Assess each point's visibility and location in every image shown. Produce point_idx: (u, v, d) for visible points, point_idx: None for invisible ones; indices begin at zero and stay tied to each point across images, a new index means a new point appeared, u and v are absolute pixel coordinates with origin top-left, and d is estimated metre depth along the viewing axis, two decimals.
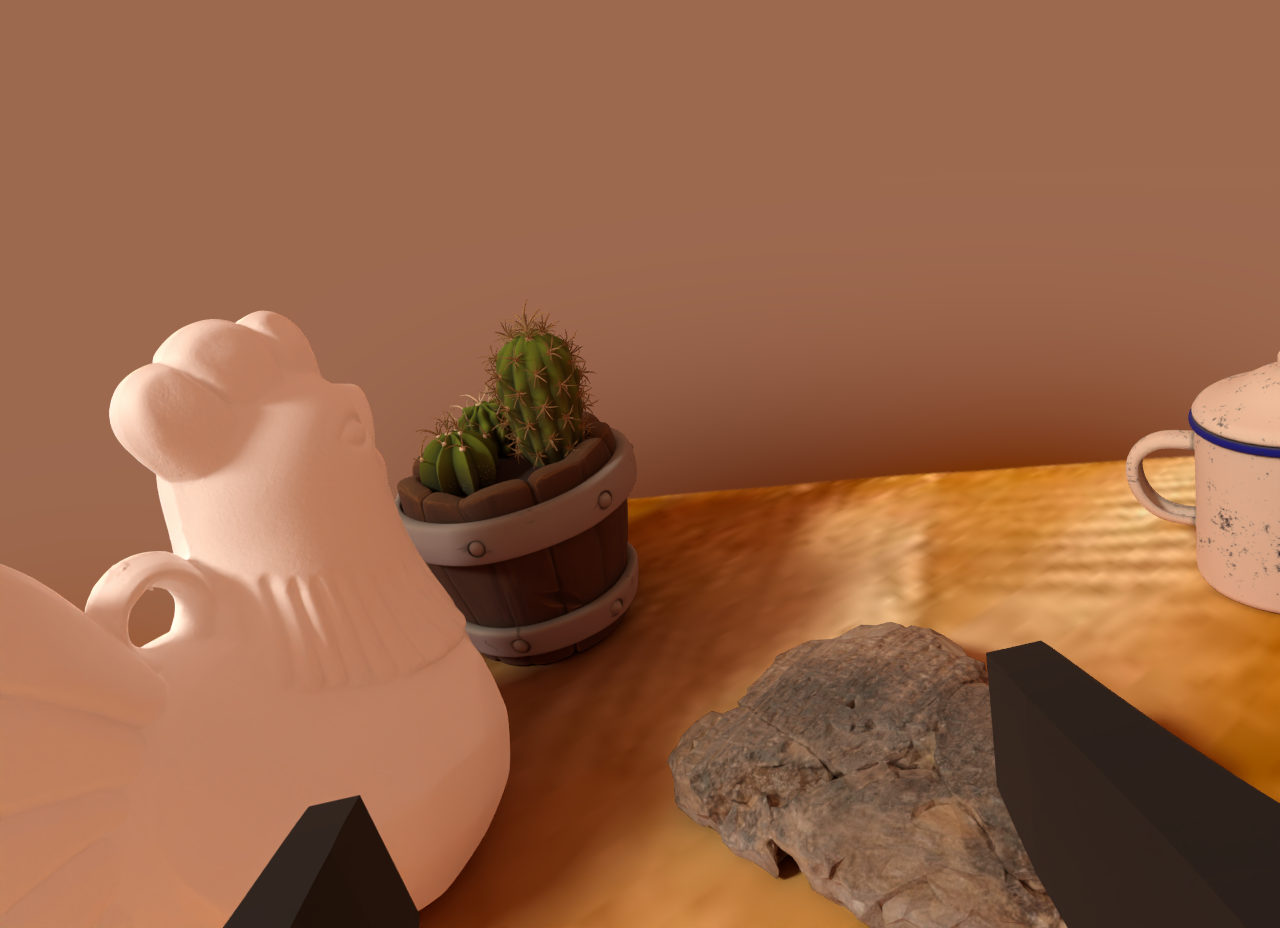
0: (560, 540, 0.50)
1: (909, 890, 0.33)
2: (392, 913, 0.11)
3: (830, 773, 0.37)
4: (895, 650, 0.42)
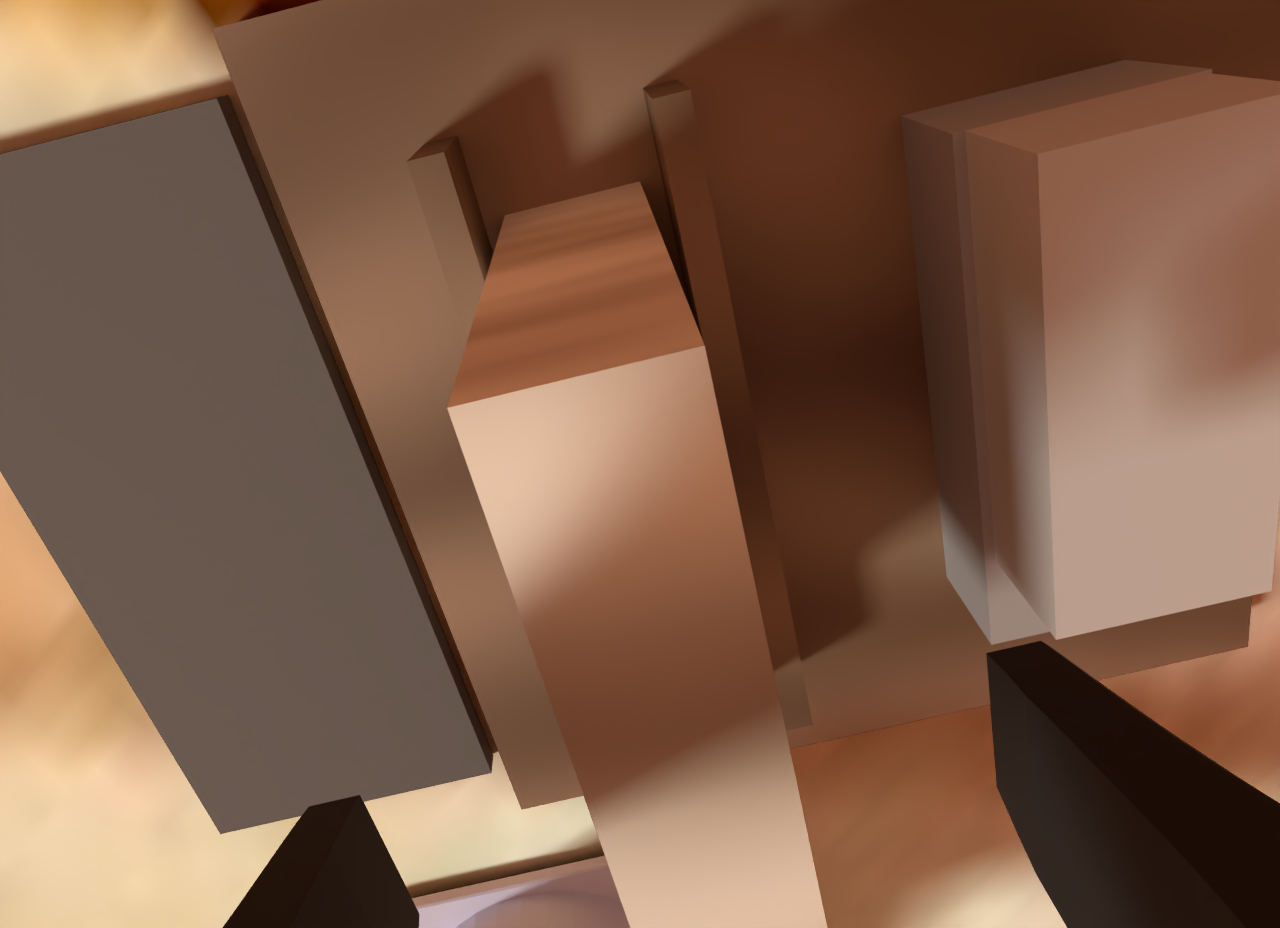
0: None
1: None
2: (391, 913, 0.10)
3: None
4: None
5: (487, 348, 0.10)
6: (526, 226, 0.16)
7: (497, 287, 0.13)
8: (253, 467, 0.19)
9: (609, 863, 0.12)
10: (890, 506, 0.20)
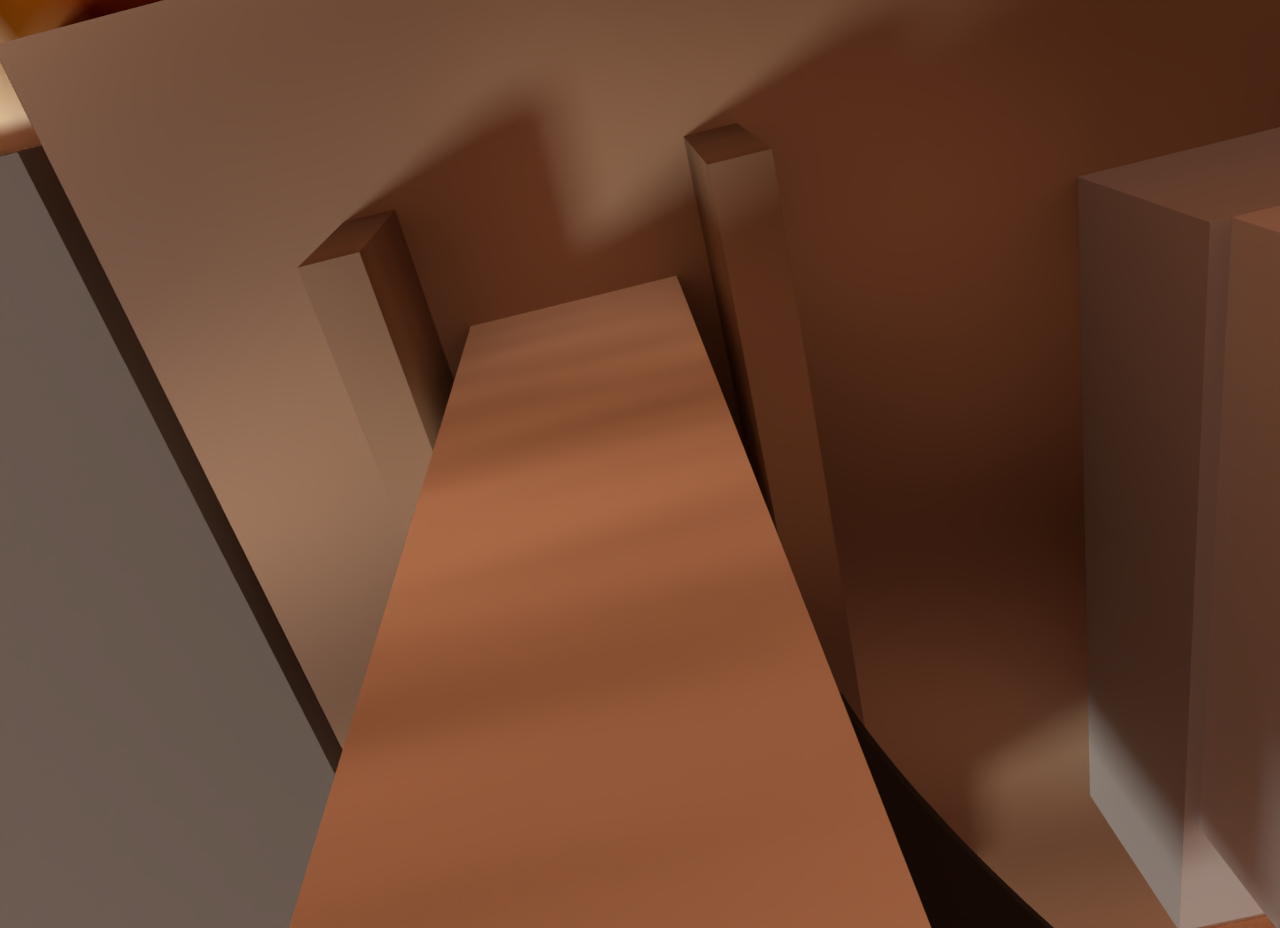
0: None
1: None
2: None
3: None
4: None
5: (378, 804, 0.04)
6: (500, 359, 0.10)
7: (433, 536, 0.07)
8: (116, 669, 0.13)
9: None
10: (1020, 709, 0.14)
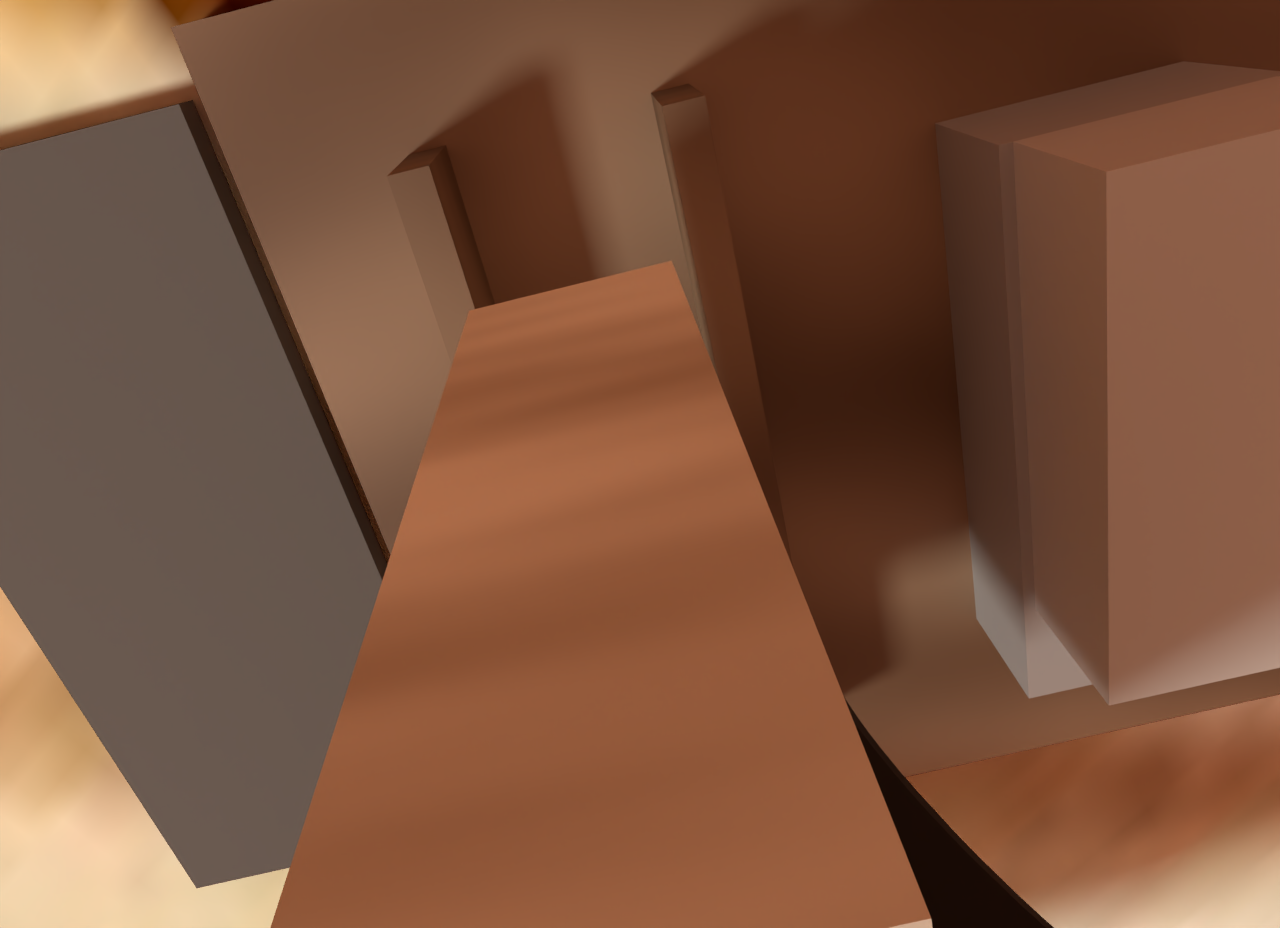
0: None
1: None
2: None
3: None
4: None
5: (379, 745, 0.05)
6: (498, 341, 0.10)
7: (433, 504, 0.07)
8: (226, 504, 0.18)
9: None
10: (917, 544, 0.19)
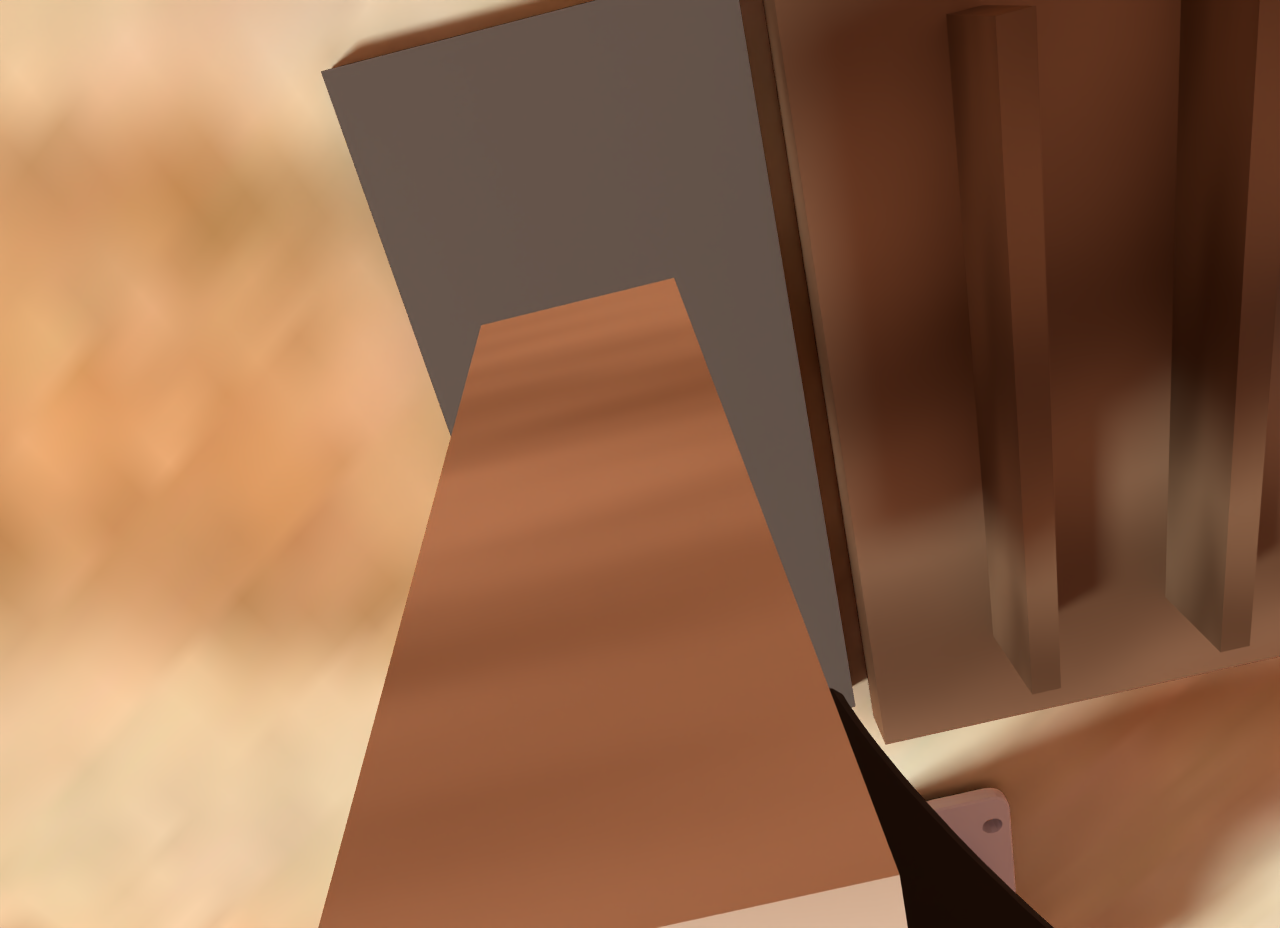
0: None
1: None
2: None
3: None
4: None
5: (415, 733, 0.05)
6: (510, 356, 0.11)
7: (454, 513, 0.07)
8: None
9: None
10: None
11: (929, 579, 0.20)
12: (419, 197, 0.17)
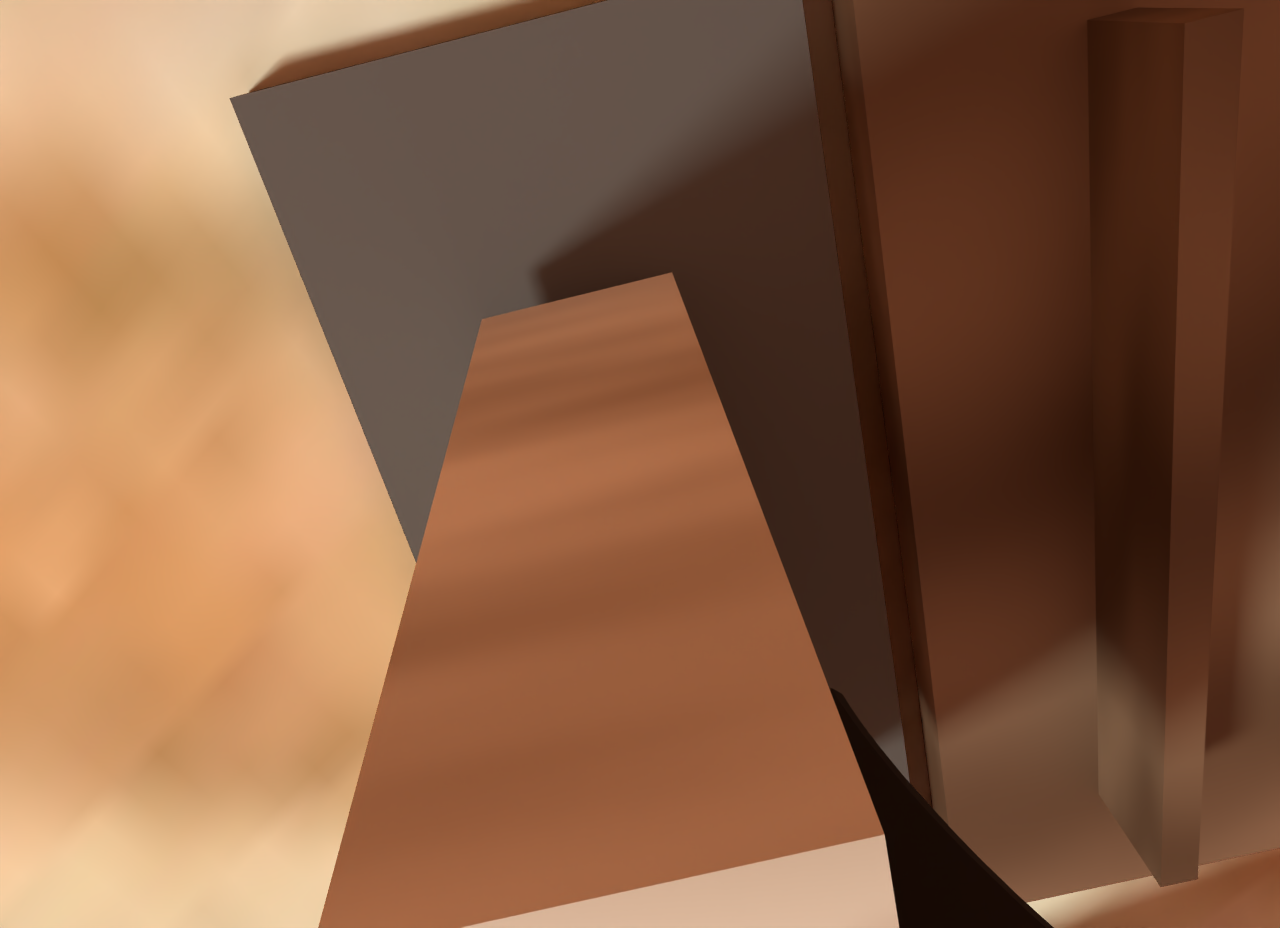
0: None
1: None
2: None
3: None
4: None
5: (421, 708, 0.05)
6: (510, 349, 0.11)
7: (457, 500, 0.08)
8: None
9: None
10: None
11: (1023, 730, 0.16)
12: (368, 264, 0.12)
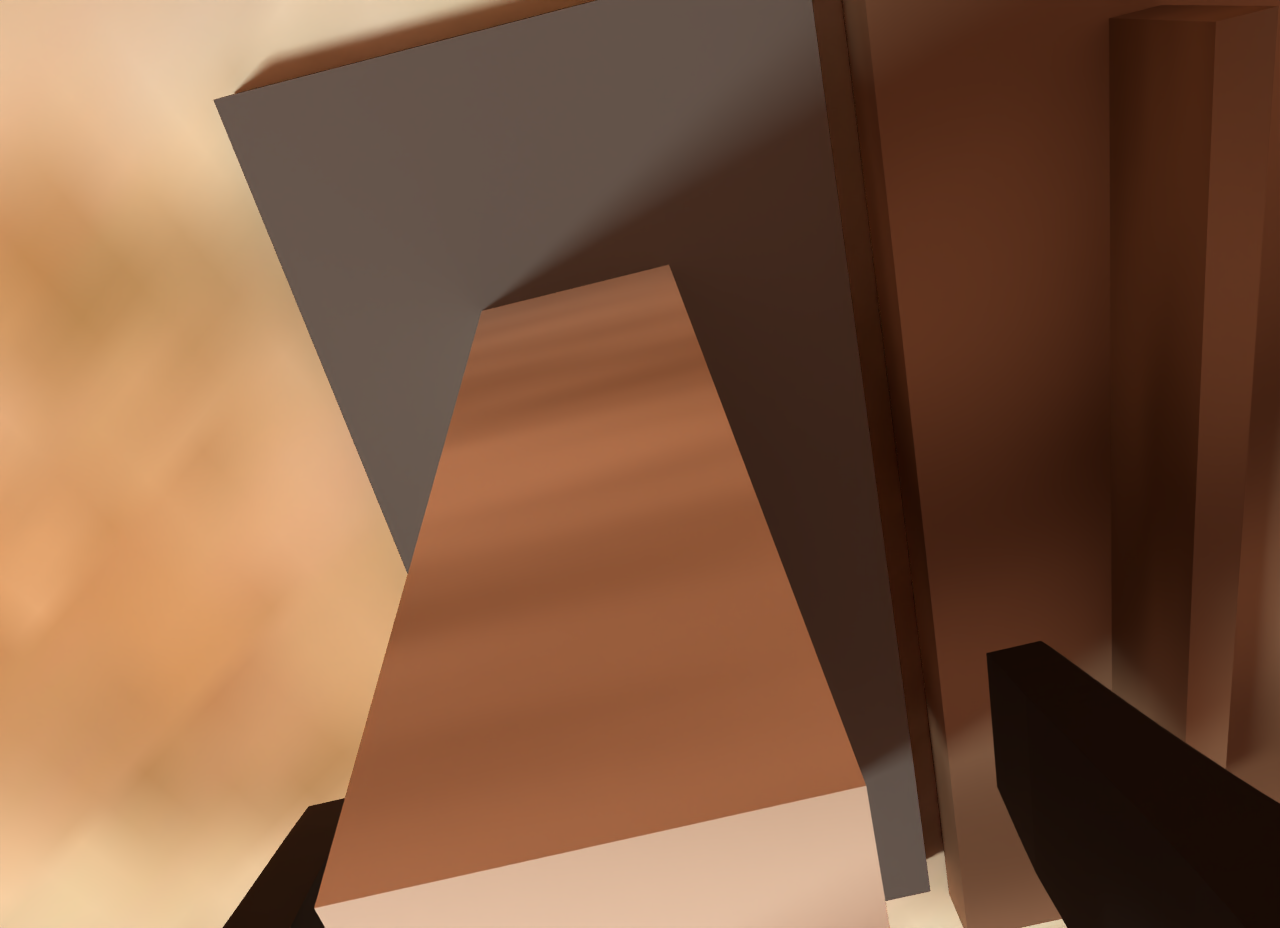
0: None
1: None
2: None
3: None
4: None
5: (421, 676, 0.06)
6: (509, 339, 0.11)
7: (456, 482, 0.08)
8: None
9: None
10: None
11: None
12: (359, 273, 0.12)
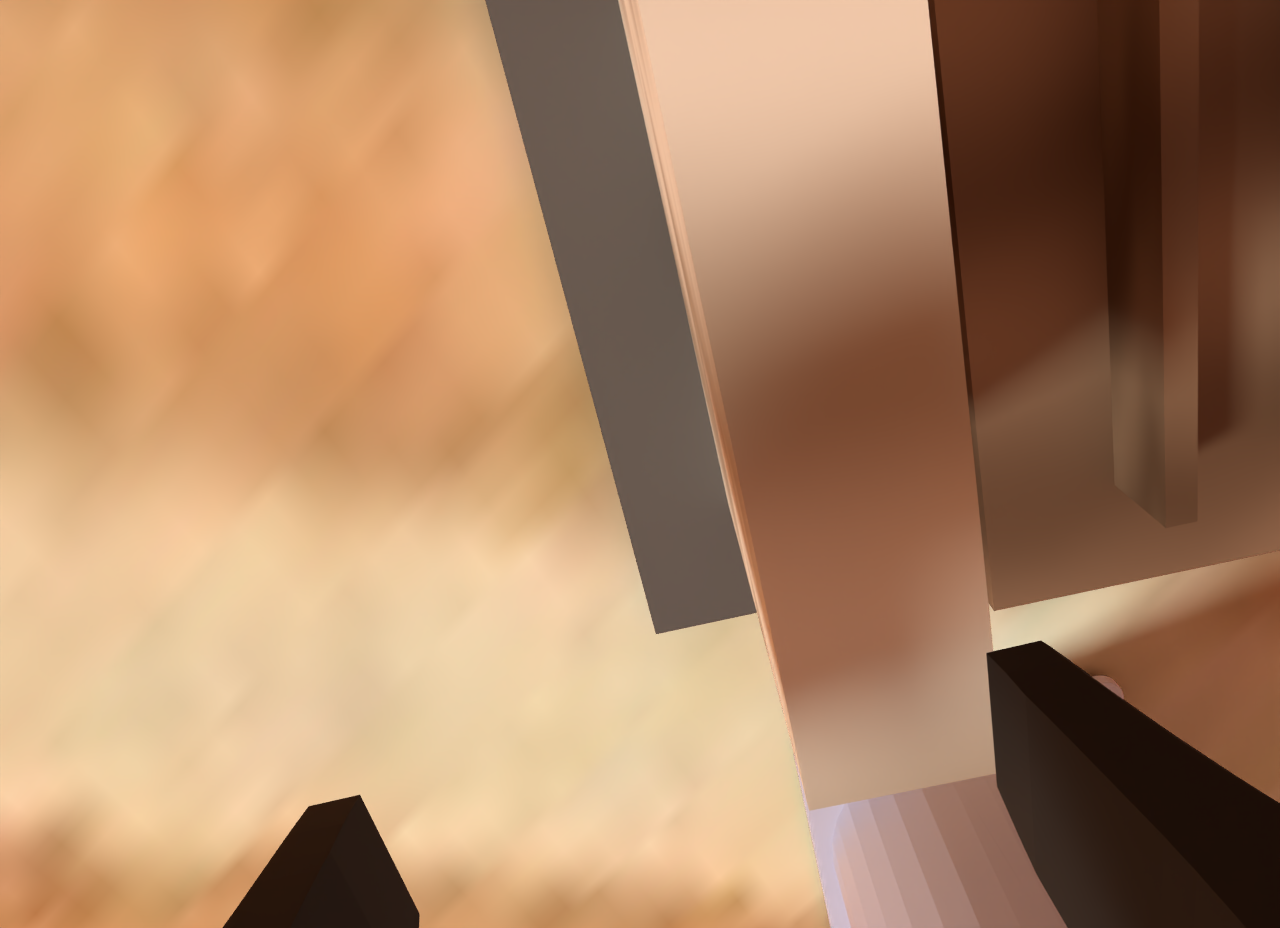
0: None
1: None
2: (392, 912, 0.11)
3: None
4: None
5: None
6: None
7: None
8: None
9: (758, 564, 0.11)
10: None
11: (1048, 415, 0.19)
12: None
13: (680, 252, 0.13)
